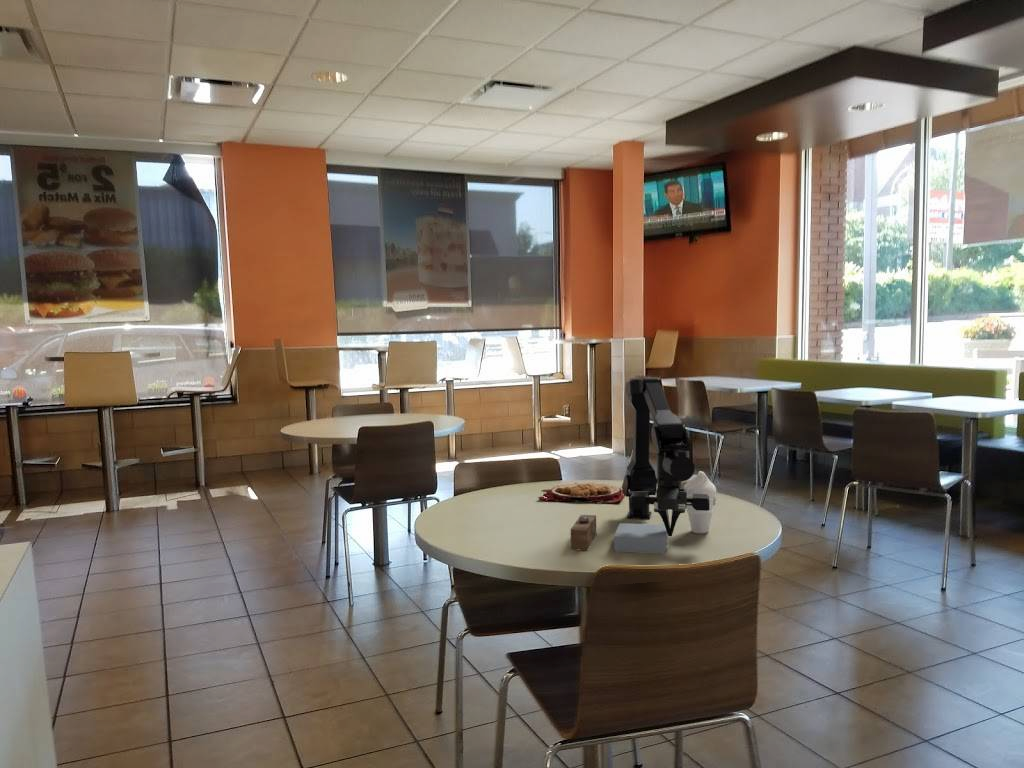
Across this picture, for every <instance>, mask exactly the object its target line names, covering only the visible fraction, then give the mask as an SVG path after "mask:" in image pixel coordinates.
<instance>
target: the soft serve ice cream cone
mask: <svg viewBox="0 0 1024 768" xmlns="http://www.w3.org/2000/svg"><path fill="white" fill-rule="evenodd" d="M696 475H697V476H695V477H693V478H691V479H690V480H688V481H687V483H686V484H685V485H684V489H687V498H692V497H693V494H707V495H708V496H709V503H710V508H709V510H708V511H701V510H695V509H694V508H693V507H692V506H688V505H686V512H687V516H688V521H689V524H690V525H689V526H690V529H691V532H692V533H694V534H707V533H709V532H710V525H711V520H712V515H713V513H714V504H713V500H714V496H715V497H716V494H717V488H716V486H715V485H714V483H713V482H712V481H711V480H710V479H709V477H708V476H707V475H706V473H705V472H704V471H701V470H699V472H698V473H697V474H696Z"/></svg>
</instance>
